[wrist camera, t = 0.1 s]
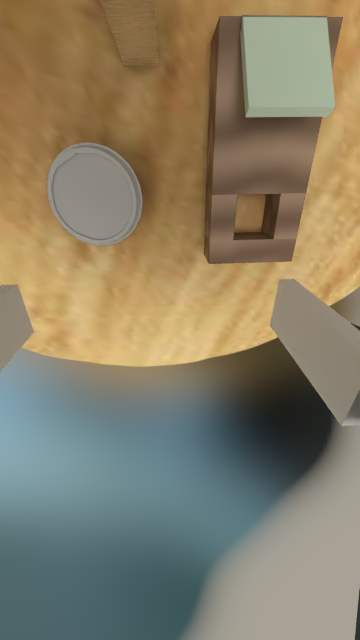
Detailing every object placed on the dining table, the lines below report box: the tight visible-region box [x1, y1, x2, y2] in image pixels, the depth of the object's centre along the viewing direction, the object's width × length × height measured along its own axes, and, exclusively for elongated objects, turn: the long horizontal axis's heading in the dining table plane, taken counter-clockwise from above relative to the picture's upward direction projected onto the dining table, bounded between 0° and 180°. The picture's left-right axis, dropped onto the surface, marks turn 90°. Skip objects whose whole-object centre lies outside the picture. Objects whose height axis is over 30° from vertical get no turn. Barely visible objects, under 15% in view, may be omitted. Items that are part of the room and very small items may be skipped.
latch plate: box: [240, 15, 335, 117], centre depth 23 cm, size 10×8×1 cm
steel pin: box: [100, 0, 159, 66], centre depth 22 cm, size 4×4×14 cm
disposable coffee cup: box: [47, 142, 142, 246], centre depth 30 cm, size 10×10×12 cm
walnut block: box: [204, 16, 343, 264], centre depth 32 cm, size 24×12×5 cm, turn 1°
